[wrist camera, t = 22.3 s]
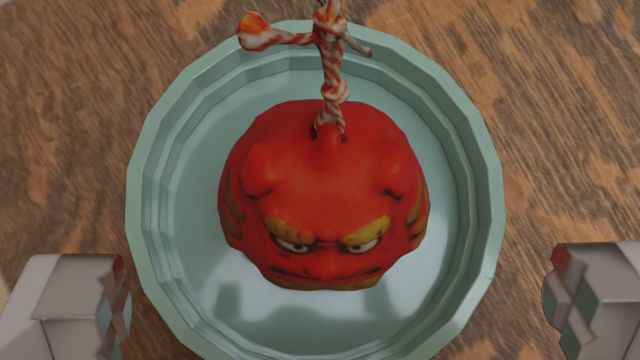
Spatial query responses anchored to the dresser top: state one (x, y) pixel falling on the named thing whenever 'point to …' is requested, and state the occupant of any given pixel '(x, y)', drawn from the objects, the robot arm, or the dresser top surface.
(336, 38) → the red daruma ornament
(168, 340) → the dresser top surface
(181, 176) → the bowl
